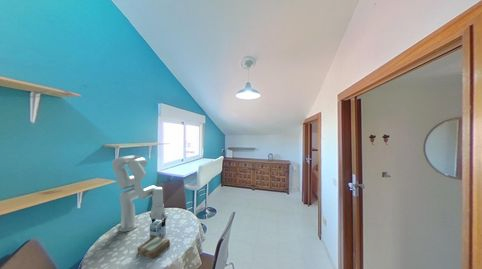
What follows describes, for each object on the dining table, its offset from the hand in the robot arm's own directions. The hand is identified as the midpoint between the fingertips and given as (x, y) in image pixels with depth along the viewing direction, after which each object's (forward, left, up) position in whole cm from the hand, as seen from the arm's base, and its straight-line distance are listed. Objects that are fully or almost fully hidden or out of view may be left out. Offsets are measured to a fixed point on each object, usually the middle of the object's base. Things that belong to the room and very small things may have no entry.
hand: (158, 225), depth 132 cm
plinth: (+9, -13, -8) cm, 18 cm away
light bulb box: (-1, 0, -8) cm, 8 cm away
